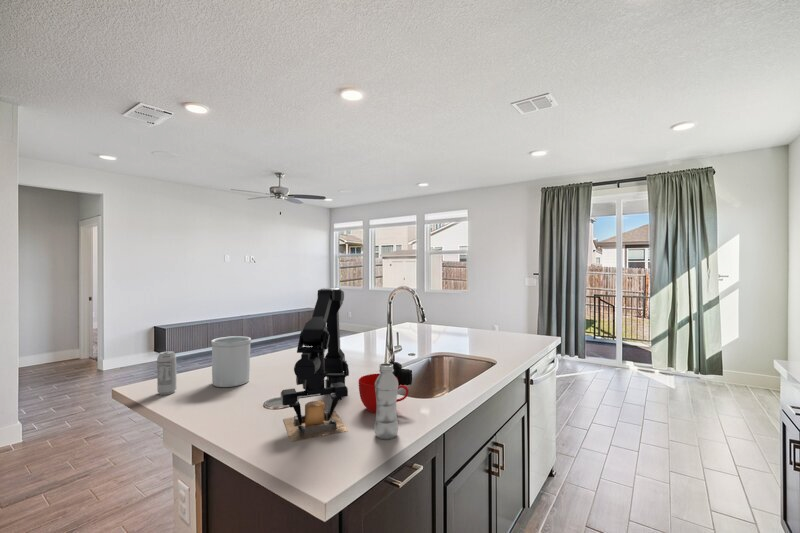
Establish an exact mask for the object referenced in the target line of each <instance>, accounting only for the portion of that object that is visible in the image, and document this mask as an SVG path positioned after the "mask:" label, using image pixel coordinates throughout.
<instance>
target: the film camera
mask: <svg viewBox="0 0 800 533" xmlns="http://www.w3.org/2000/svg"><path fill="white" fill-rule="evenodd" d="M388 363H391V364H393V370H394V371H393V372H392V373H393V374H394V376H396V377H397V378H398V386H400V385H405V386H412V383H413V370H412V369H409V368H403V365H402V363H400V362H397V361H389V362H388Z"/></svg>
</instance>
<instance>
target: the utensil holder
mask: <svg viewBox="0 0 800 533" xmlns="http://www.w3.org/2000/svg"><path fill="white" fill-rule="evenodd" d="M210 342H211V377H212V379H211V380H212V382H211V383H212V385H213V386H214V387H216V388H217V387H218V388H231V387H232V388H233V387H239V386H241V385H244V384H246V383H248V382H249V381H250V370H251V369H250V368H251V342H252V338H251V337H249V336H243V335H242V336H239V335H238V336H237V335H234V336H225V337H224V336H223V337H217V338H214V339H212V340H211V341H210Z"/></svg>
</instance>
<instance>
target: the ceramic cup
mask: <svg viewBox="0 0 800 533" xmlns="http://www.w3.org/2000/svg"><path fill="white" fill-rule="evenodd" d="M379 375H380V373H371V374H366V375H363V376H361V377H360V378H358V391H359V397H360V400H361V402H362V405H363V406H364V407H365V408H366V409H367V410H368V412H371V413H374V414H376V411H377V403H376V392H375V381H376V379H377V377H378V376H379ZM395 377H396V376H395ZM396 379H397V380H398V378H397V377H396ZM399 389H404V390H405V395H404V396H402V397H401V398H397V401H396V403H398V402H402V401H404V400H405V399H406V398H407V397H408V395H409V387H407V385H400V386H398V390H399Z"/></svg>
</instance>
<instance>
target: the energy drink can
mask: <svg viewBox="0 0 800 533" xmlns="http://www.w3.org/2000/svg"><path fill="white" fill-rule="evenodd" d="M156 359H157V361H156V363H157V365H156V367H157V368H156V374H157V376H156V378H157V383H156V384H157V390H156V391H157V393H158V394H159V395H161V396H165V395H166V396H167V395H171V394H174V393H175V391H176V390H177V355H176V353H175V351H174V350H173V351H172V350H169V351H168V350H167V351H166V350H165V351H162V352H159V353H158V356H157V358H156Z"/></svg>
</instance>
